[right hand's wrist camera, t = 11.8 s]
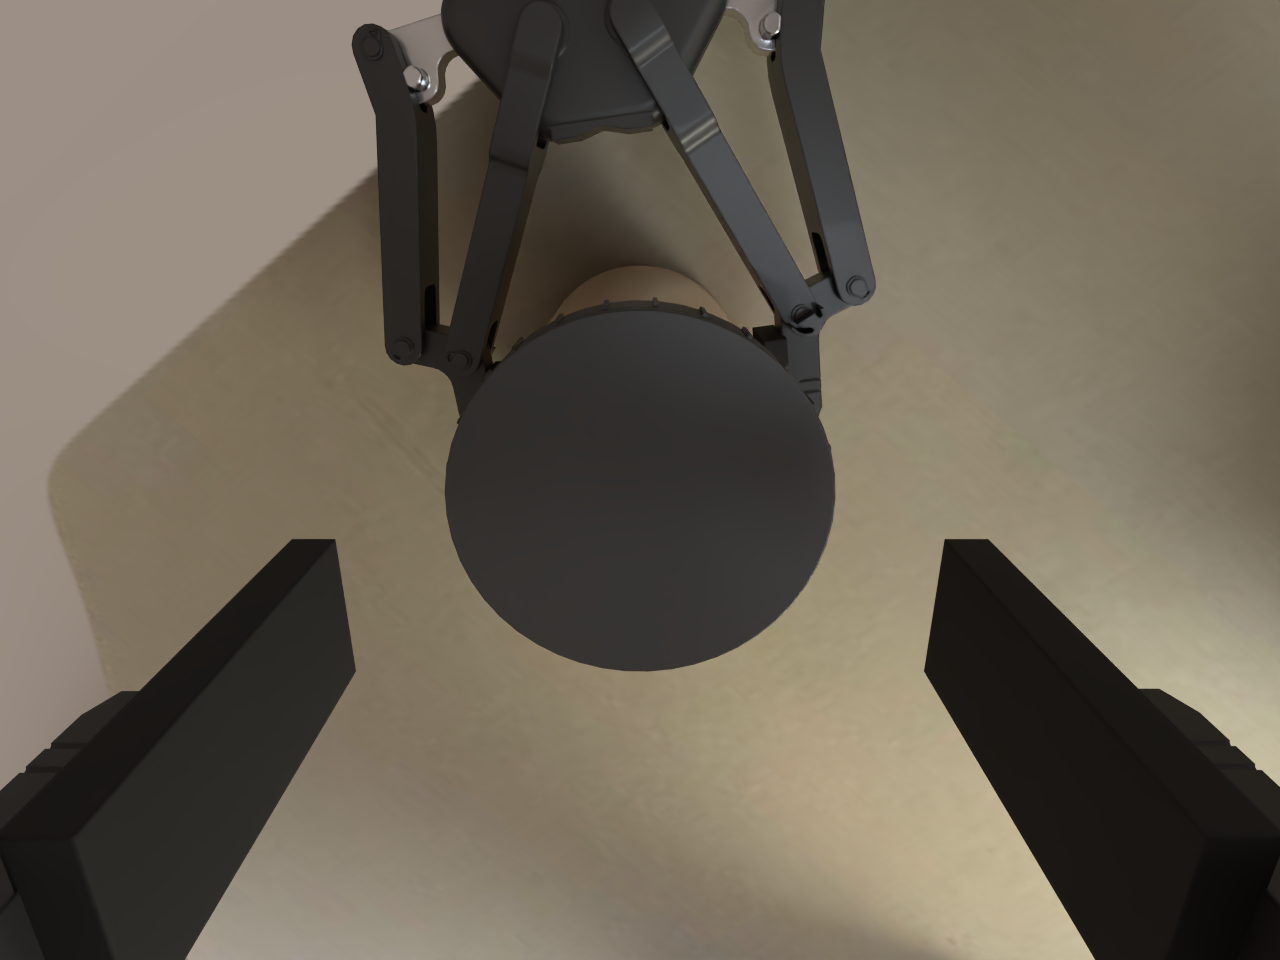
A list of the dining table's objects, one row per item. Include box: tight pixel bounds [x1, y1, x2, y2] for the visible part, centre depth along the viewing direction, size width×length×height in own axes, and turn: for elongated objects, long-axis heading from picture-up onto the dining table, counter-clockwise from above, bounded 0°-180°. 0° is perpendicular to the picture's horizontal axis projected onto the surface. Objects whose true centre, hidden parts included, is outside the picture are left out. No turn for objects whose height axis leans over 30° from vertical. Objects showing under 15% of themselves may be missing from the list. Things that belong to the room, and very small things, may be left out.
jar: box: [548, 265, 732, 324], centre depth 25 cm, size 8×8×15 cm
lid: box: [445, 297, 835, 671], centre depth 19 cm, size 9×9×2 cm
